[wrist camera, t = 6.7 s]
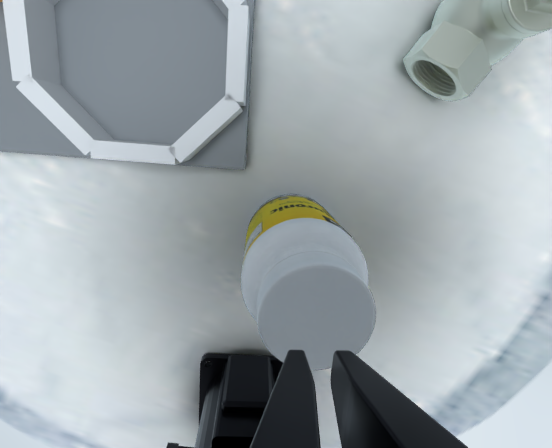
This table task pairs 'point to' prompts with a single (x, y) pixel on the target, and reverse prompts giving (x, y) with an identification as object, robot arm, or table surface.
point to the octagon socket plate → (127, 79)
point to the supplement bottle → (305, 282)
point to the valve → (472, 42)
